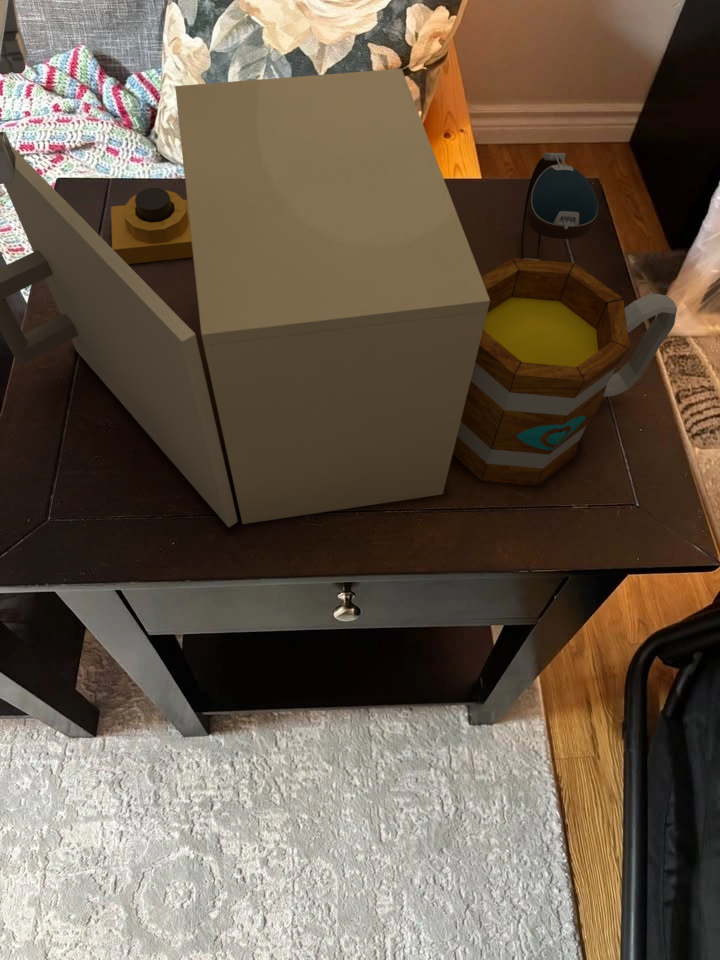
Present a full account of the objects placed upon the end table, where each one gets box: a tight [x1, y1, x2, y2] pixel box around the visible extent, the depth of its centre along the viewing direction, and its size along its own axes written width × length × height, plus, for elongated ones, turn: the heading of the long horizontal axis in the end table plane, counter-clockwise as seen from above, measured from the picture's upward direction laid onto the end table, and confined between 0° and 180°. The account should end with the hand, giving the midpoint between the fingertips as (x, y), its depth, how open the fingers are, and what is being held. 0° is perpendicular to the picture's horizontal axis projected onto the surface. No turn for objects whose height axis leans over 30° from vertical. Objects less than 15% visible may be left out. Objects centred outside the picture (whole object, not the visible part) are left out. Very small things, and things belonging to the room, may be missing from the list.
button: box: [135, 187, 172, 223], centre depth 80 cm, size 4×4×2 cm
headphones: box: [520, 152, 599, 260], centre depth 74 cm, size 6×15×22 cm
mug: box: [452, 257, 678, 486], centre depth 66 cm, size 20×14×15 cm
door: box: [0, 145, 239, 528], centre depth 59 cm, size 7×26×24 cm, turn 41°
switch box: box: [110, 189, 193, 265], centre depth 82 cm, size 10×7×4 cm
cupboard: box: [174, 68, 490, 525], centre depth 63 cm, size 18×26×24 cm
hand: (6, 117), depth 39 cm, fingers open, 8 cm apart
